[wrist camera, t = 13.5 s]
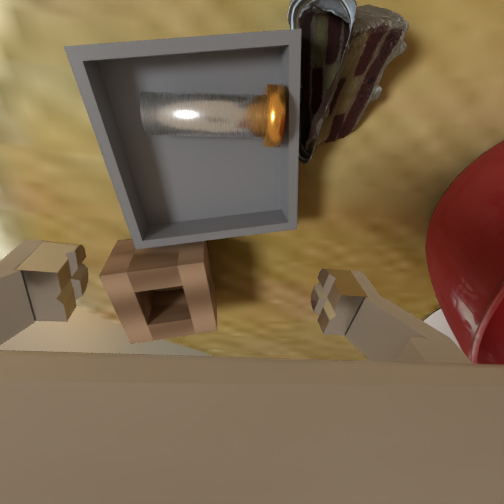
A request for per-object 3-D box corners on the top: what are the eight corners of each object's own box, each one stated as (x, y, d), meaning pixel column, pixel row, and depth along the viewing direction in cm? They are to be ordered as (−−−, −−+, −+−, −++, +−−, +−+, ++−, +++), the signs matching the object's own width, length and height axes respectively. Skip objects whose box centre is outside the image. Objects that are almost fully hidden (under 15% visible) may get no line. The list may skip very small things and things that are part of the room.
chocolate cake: (360, 155, 28) (475, 43, 17) (300, 171, 26) (384, 59, 15) (322, 76, 30) (404, -75, 18) (262, 87, 28) (313, -76, 16)
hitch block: (215, 293, 35) (217, 330, 30) (142, 303, 34) (130, 343, 29) (204, 229, 30) (203, 262, 25) (117, 240, 29) (99, 276, 24)
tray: (287, 211, 30) (296, 229, 27) (144, 228, 29) (136, 249, 26) (287, 34, 22) (301, 28, 18) (86, 49, 21) (63, 46, 17)
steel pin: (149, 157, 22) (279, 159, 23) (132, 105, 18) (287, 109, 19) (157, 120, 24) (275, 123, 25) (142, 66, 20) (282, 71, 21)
